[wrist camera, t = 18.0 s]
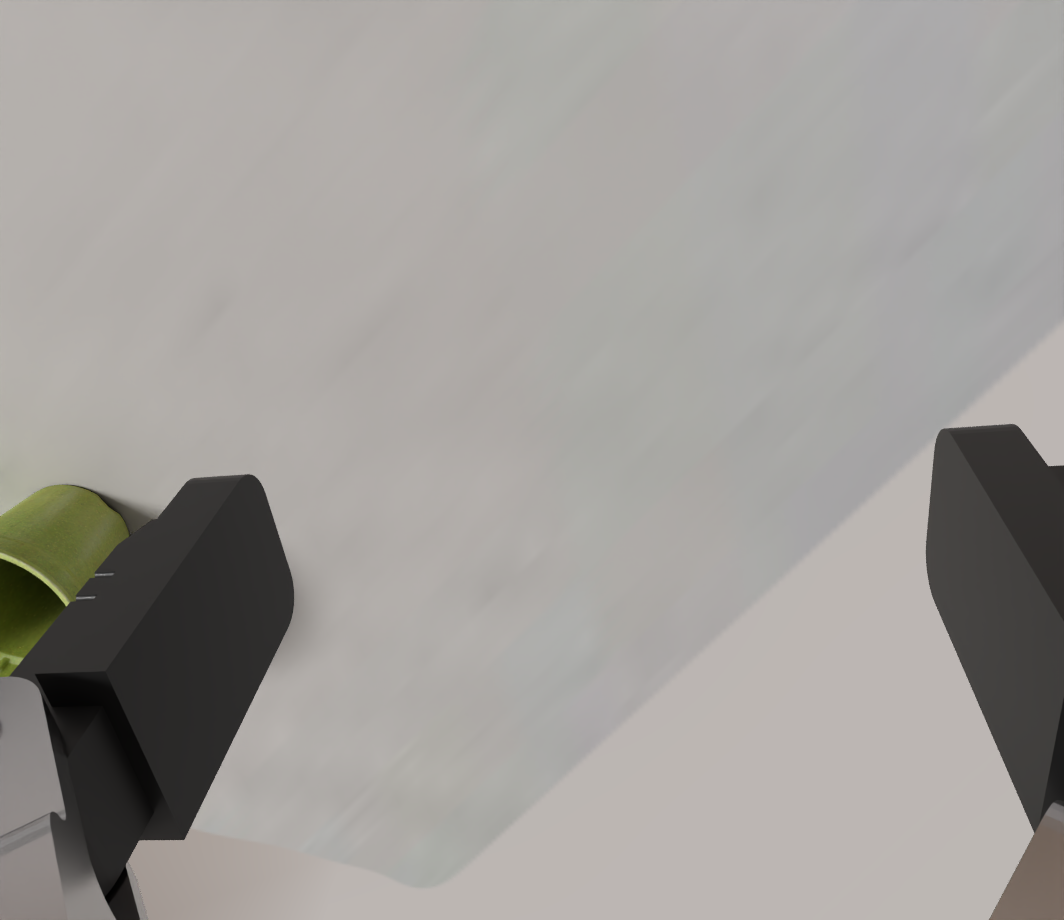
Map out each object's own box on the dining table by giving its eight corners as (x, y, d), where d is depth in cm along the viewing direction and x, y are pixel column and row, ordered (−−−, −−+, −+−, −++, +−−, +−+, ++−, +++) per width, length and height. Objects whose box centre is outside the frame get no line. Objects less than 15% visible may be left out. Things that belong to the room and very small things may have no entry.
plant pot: (-22, 449, 51) (-132, 539, 44) (146, 463, 51) (64, 556, 43) (17, 585, 56) (-77, 688, 49) (171, 600, 56) (100, 705, 48)
